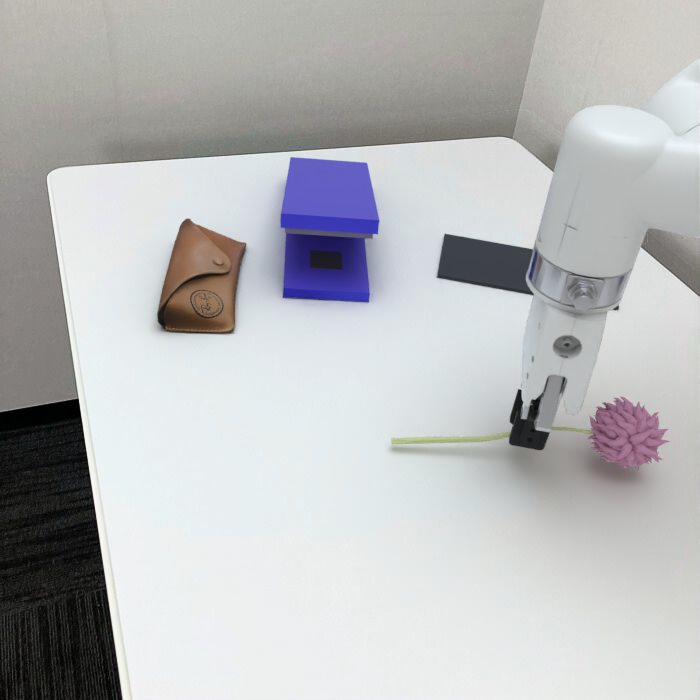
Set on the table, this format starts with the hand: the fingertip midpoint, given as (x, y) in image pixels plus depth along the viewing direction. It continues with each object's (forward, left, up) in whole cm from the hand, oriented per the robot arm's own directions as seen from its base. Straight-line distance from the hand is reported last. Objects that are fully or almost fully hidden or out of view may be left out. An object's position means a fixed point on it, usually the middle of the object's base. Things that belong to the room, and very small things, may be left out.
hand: (526, 434), depth 72 cm
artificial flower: (0, +1, -2) cm, 2 cm away
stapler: (+26, -32, -3) cm, 41 cm away
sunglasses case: (+37, -17, -3) cm, 40 cm away
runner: (0, -32, -2) cm, 32 cm away
